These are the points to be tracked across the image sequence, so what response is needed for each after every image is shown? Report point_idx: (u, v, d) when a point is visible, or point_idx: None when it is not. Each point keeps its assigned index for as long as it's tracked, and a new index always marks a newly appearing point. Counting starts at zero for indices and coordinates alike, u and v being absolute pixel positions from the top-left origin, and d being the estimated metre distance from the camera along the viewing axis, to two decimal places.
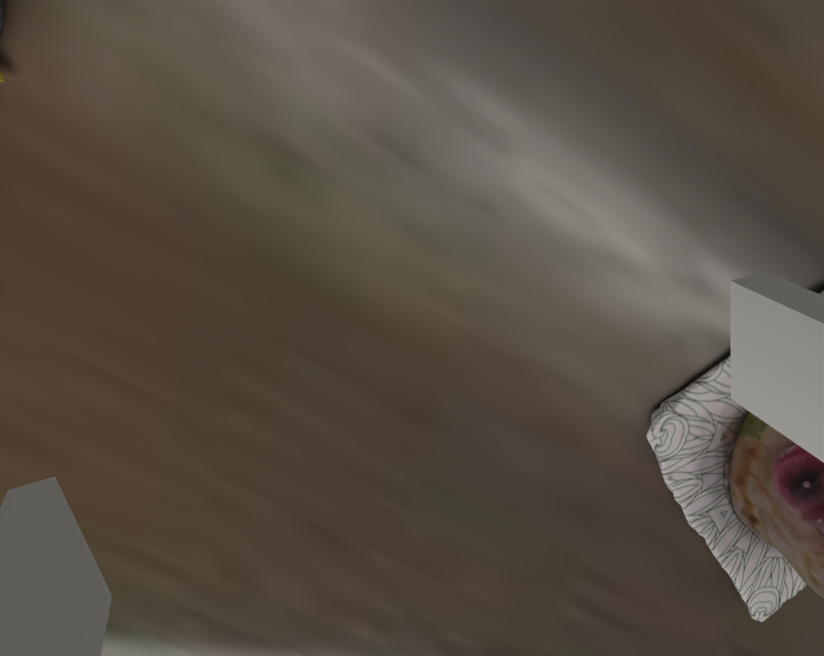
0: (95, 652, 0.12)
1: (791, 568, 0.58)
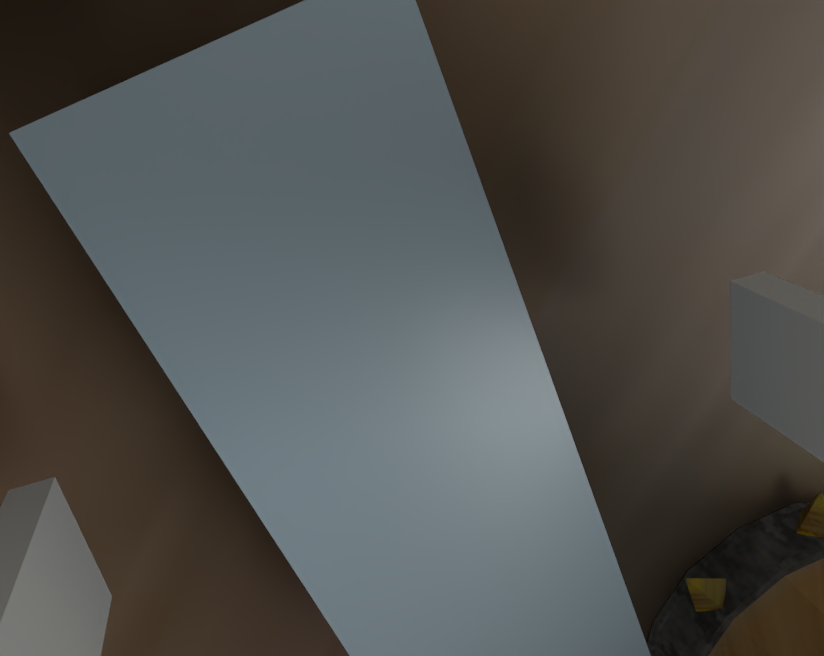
0: (95, 652, 0.12)
1: None
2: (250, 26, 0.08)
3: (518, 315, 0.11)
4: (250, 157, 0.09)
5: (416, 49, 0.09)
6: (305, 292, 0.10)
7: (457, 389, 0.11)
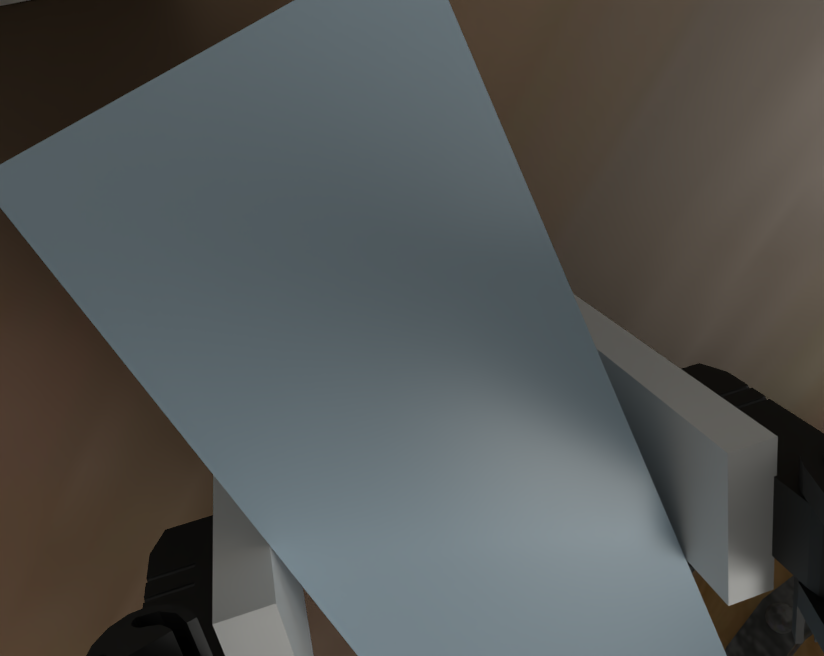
0: None
1: None
2: (246, 29, 0.07)
3: (579, 337, 0.09)
4: (259, 183, 0.08)
5: (444, 39, 0.08)
6: (333, 332, 0.08)
7: (512, 425, 0.10)
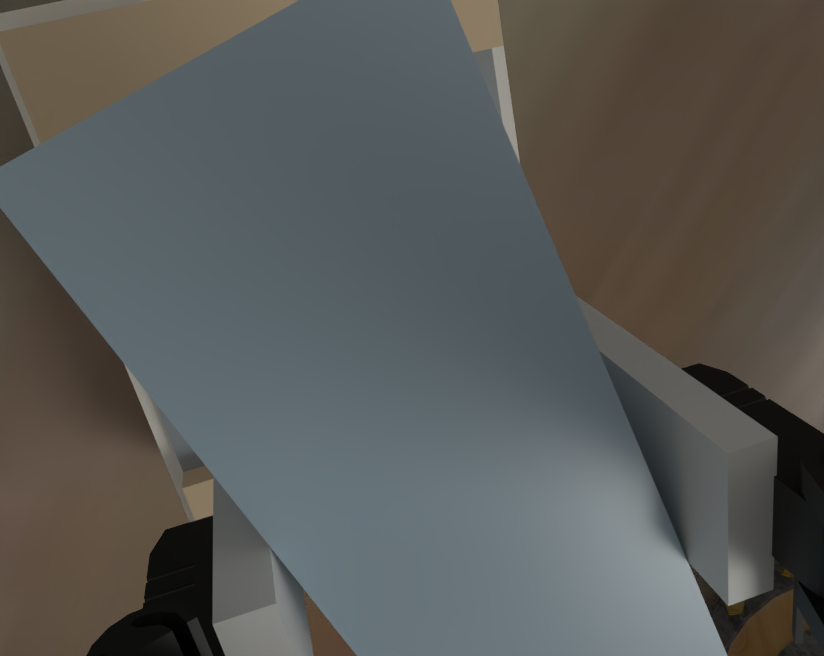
0: None
1: None
2: (249, 30, 0.07)
3: (581, 339, 0.09)
4: (261, 184, 0.08)
5: (447, 41, 0.08)
6: (334, 333, 0.08)
7: (514, 427, 0.10)
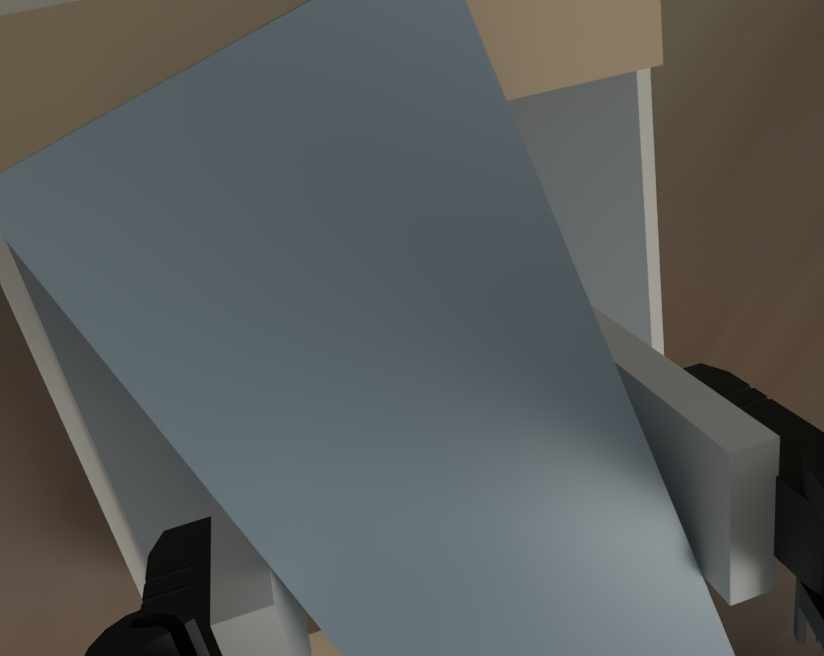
0: None
1: None
2: (254, 34, 0.07)
3: (598, 355, 0.09)
4: (266, 196, 0.07)
5: (462, 45, 0.07)
6: (343, 352, 0.08)
7: (529, 446, 0.09)
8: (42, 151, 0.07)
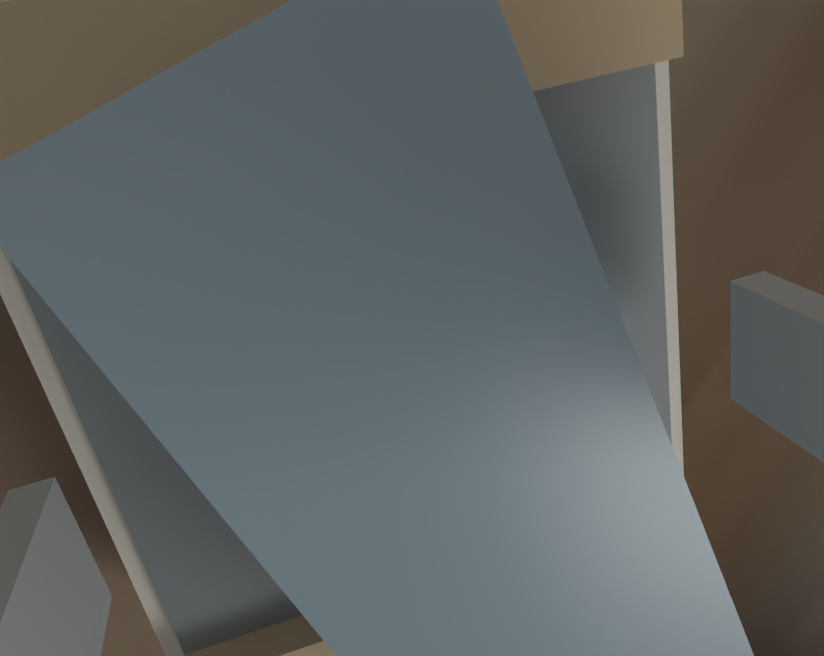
0: (95, 652, 0.12)
1: None
2: (263, 18, 0.06)
3: (625, 362, 0.08)
4: (276, 194, 0.07)
5: (486, 31, 0.07)
6: (356, 359, 0.08)
7: (550, 458, 0.09)
8: (33, 145, 0.06)
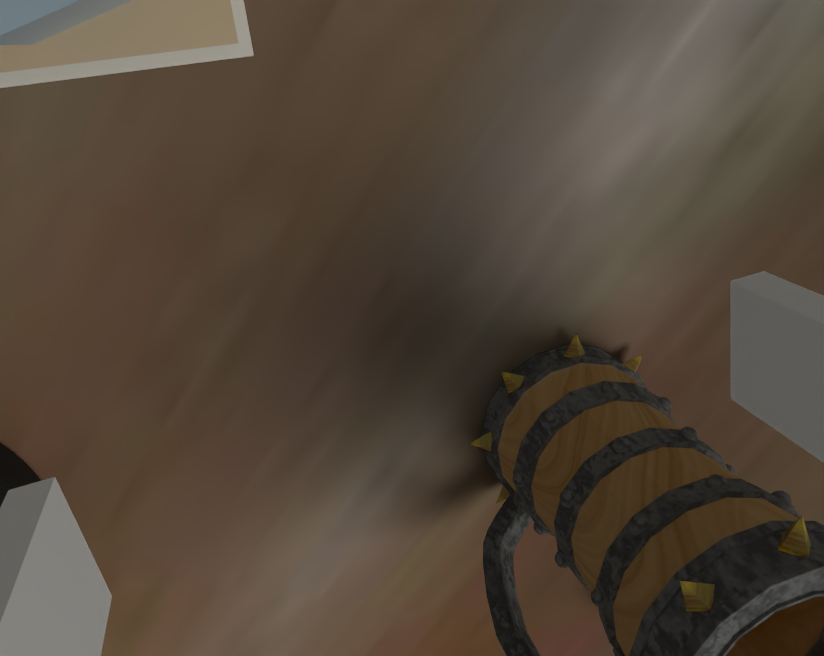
0: (95, 652, 0.12)
1: None
2: None
3: None
4: None
5: None
6: None
7: None
8: None
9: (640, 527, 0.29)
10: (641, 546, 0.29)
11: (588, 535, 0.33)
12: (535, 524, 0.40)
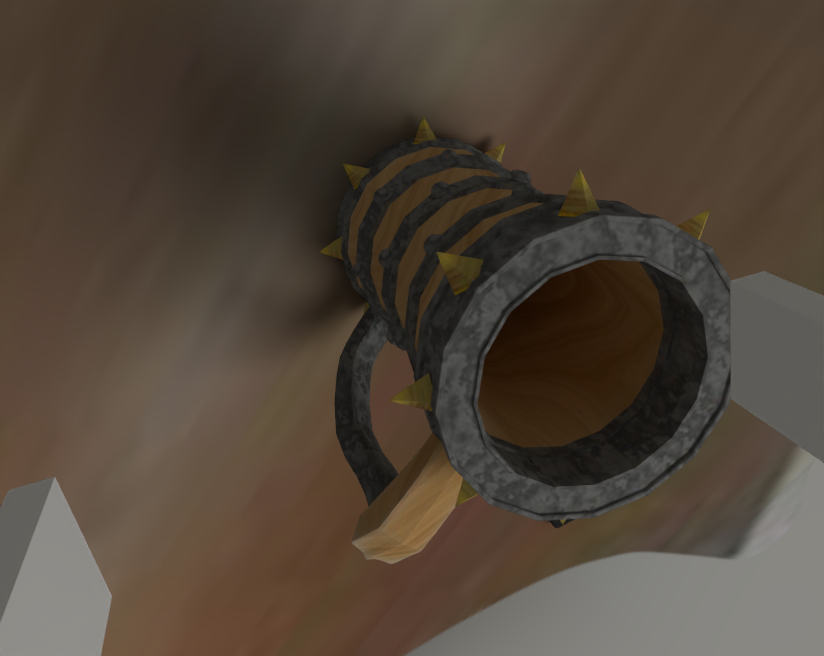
0: (95, 652, 0.12)
1: None
2: None
3: None
4: None
5: None
6: None
7: None
8: None
9: (433, 244, 0.25)
10: (434, 264, 0.25)
11: (403, 287, 0.29)
12: (388, 325, 0.36)
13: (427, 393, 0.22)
